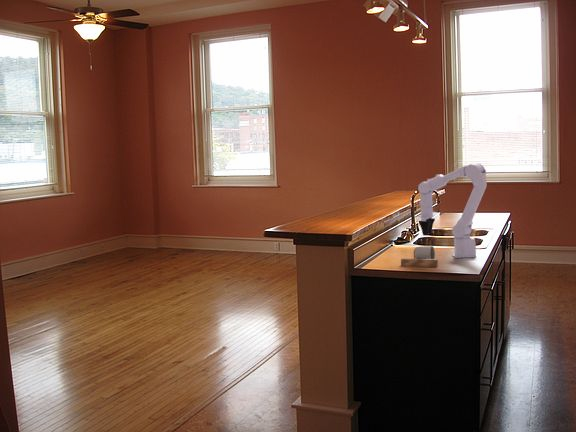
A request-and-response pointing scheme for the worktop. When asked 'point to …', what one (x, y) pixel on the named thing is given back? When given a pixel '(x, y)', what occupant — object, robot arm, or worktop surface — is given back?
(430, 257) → the ceramic mug
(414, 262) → the rail
